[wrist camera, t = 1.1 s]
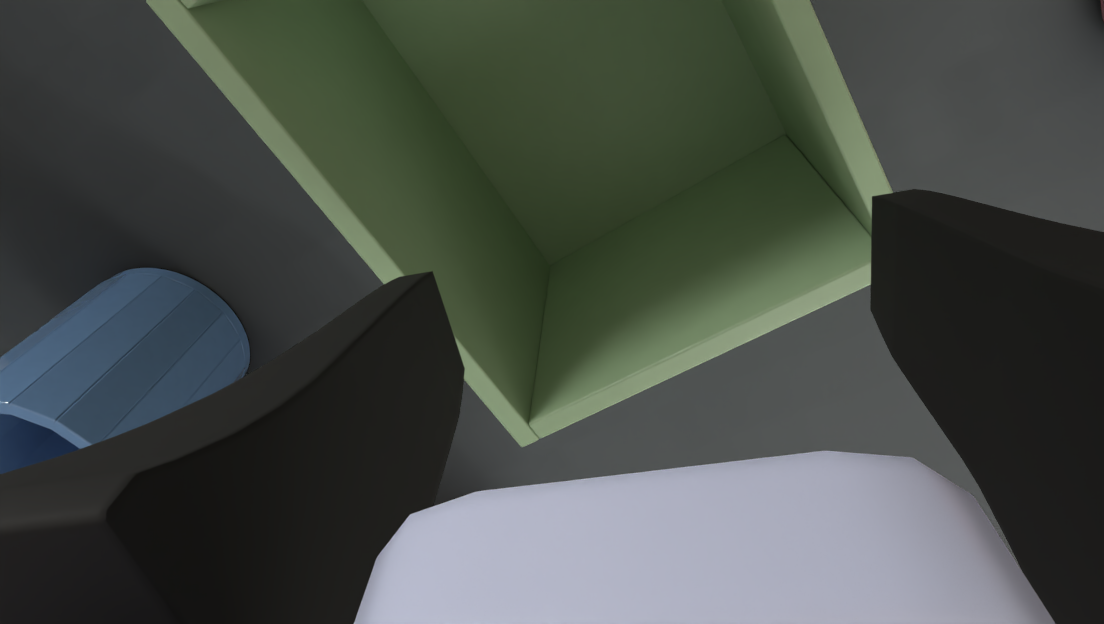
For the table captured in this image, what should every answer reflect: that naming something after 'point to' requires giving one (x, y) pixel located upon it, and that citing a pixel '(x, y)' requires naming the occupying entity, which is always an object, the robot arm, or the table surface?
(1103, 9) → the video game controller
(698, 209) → the bin
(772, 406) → the table surface
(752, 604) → the robot arm
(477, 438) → the table surface
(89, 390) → the cup
